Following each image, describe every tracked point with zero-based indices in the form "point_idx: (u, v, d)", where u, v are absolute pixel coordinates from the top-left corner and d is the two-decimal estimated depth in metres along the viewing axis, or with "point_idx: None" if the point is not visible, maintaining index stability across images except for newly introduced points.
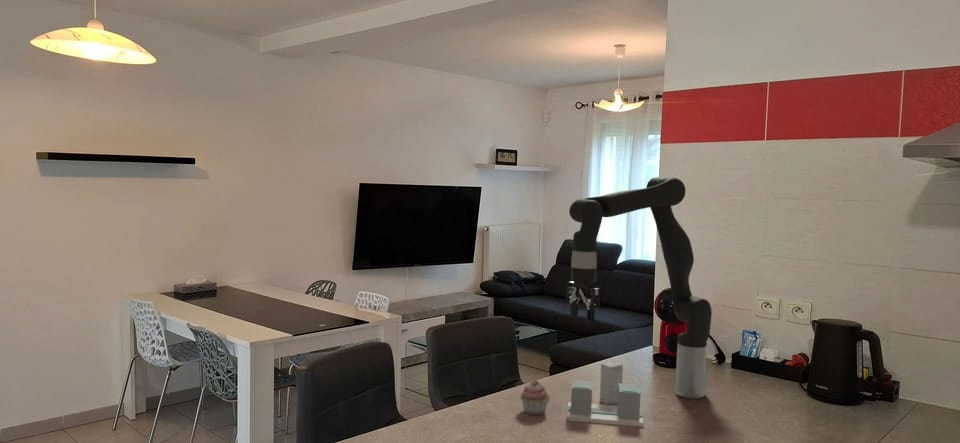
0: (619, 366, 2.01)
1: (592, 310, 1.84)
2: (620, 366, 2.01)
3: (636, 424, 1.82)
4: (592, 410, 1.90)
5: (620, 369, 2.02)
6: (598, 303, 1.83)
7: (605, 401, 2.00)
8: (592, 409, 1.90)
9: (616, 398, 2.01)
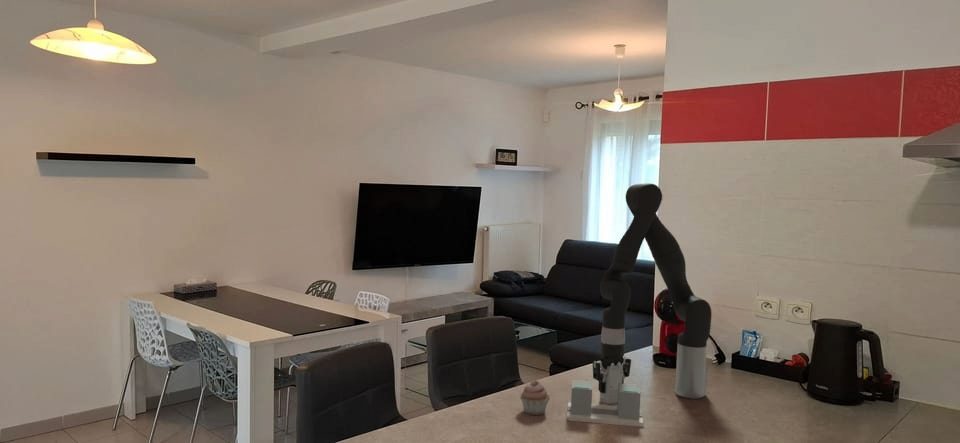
0: None
1: None
2: None
3: (636, 424, 1.82)
4: (592, 410, 1.90)
5: None
6: (625, 370, 2.05)
7: (605, 401, 2.00)
8: (592, 409, 1.90)
9: (616, 398, 2.01)
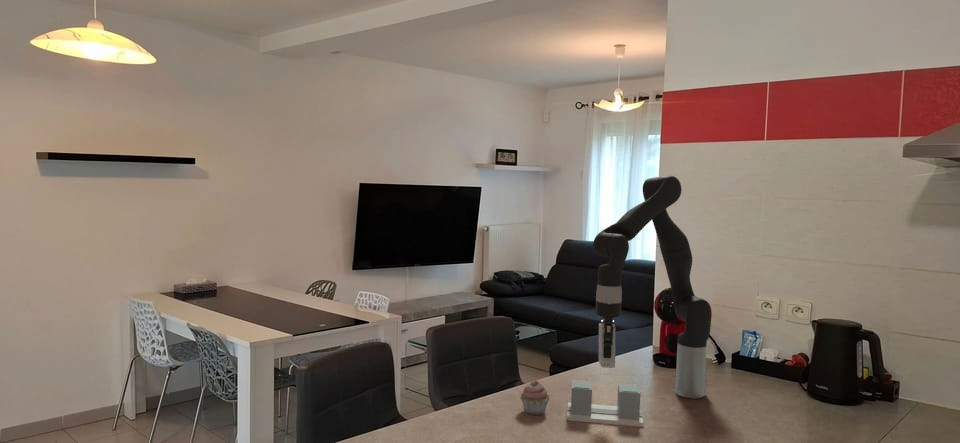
0: None
1: None
2: None
3: (636, 424, 1.82)
4: (592, 410, 1.90)
5: None
6: None
7: (610, 366, 1.85)
8: (592, 409, 1.90)
9: None
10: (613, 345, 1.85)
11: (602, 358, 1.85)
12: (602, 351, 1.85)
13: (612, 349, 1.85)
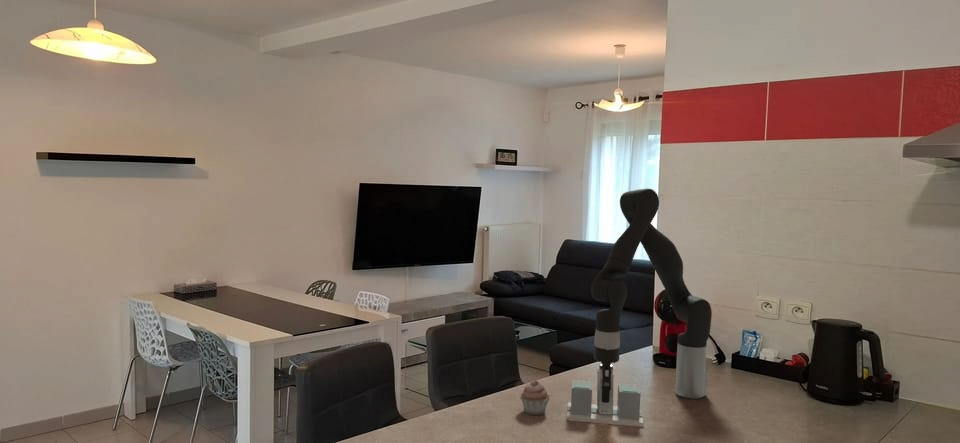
0: None
1: None
2: None
3: (636, 424, 1.82)
4: (592, 410, 1.90)
5: None
6: None
7: (608, 412, 1.86)
8: (592, 409, 1.90)
9: None
10: (611, 392, 1.86)
11: (600, 405, 1.86)
12: (600, 398, 1.86)
13: (610, 396, 1.86)
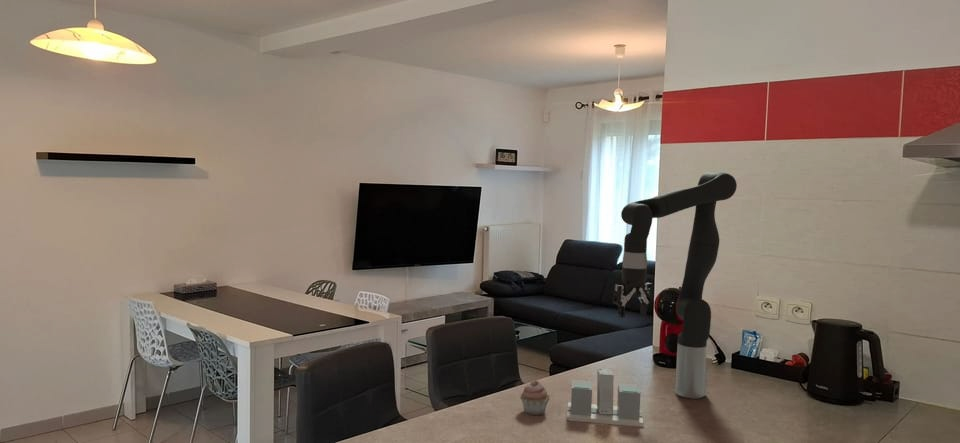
0: None
1: None
2: None
3: (636, 424, 1.82)
4: (592, 410, 1.90)
5: None
6: (648, 296, 2.03)
7: (608, 412, 1.86)
8: (592, 409, 1.90)
9: None
10: (611, 392, 1.86)
11: (600, 405, 1.86)
12: (600, 398, 1.86)
13: (610, 396, 1.86)
